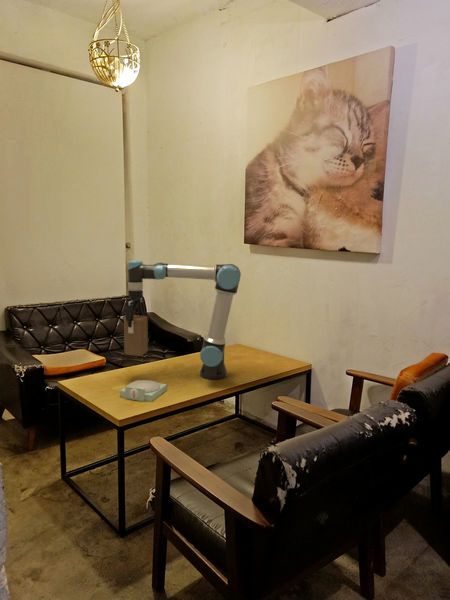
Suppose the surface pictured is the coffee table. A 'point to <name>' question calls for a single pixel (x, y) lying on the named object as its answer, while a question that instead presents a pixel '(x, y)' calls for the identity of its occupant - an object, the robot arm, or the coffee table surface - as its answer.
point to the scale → (143, 390)
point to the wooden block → (136, 336)
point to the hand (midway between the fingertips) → (136, 330)
